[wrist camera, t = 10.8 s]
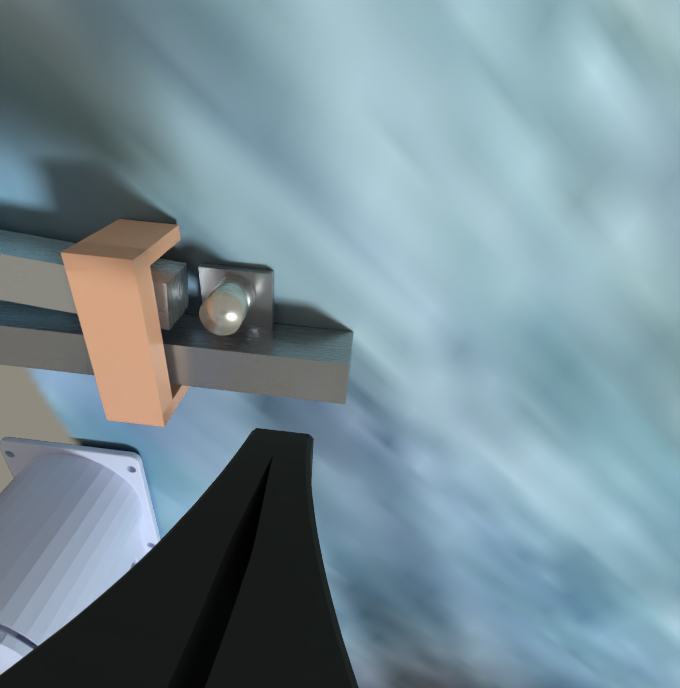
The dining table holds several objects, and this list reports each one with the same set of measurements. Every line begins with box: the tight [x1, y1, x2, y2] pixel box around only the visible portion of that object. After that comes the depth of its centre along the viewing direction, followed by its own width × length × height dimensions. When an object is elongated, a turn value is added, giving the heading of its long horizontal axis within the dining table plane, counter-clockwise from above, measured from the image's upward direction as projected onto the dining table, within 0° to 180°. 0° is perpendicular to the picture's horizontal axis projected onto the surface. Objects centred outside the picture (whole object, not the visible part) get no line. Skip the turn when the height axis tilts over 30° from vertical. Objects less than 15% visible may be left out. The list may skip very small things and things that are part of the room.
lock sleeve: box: [61, 219, 189, 427], centre depth 18 cm, size 7×2×4 cm, turn 176°
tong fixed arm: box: [0, 263, 353, 404], centre depth 19 cm, size 4×21×2 cm, turn 86°
